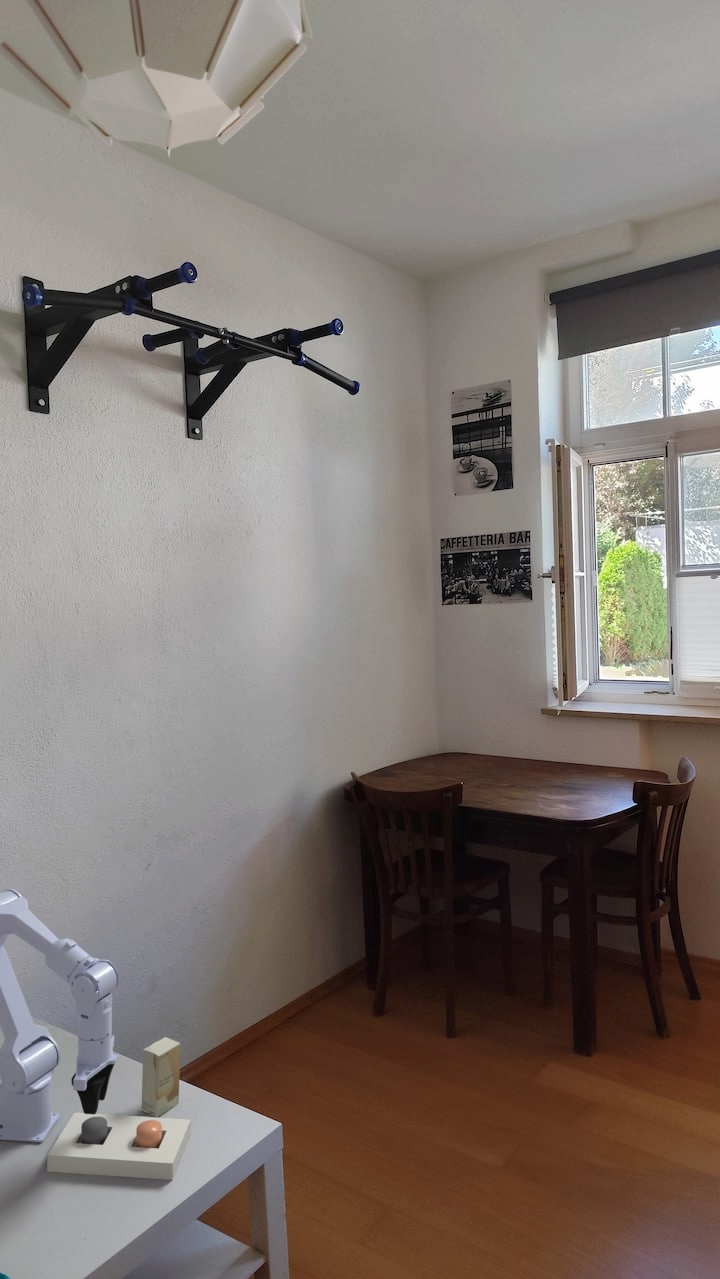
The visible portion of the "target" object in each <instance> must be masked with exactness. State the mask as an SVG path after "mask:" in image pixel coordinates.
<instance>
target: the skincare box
mask: <svg viewBox="0 0 720 1279" xmlns="http://www.w3.org/2000/svg"><path fill="white" fill-rule="evenodd" d="M180 1062H181V1043H180V1042H178V1041H176V1040H174V1039H171V1038H169V1037H166V1036H164V1037H163V1038H161V1039H159V1040H157V1041H155V1042H153V1043H152V1044H150V1045H148V1046H147V1047H145V1048H144V1049H143V1050H142V1078H141V1080H142V1081H141V1111H143V1112H145V1113H147V1114H148V1115H151V1116H152V1117H157V1118H159V1116H161V1115H163V1114H164V1113H166V1112H168V1110H170V1109H172V1108H173V1107H175V1106H176V1105H177V1104H179V1102H180V1101H179V1100H180V1072H181V1071H180V1065H181V1064H180Z"/></svg>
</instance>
